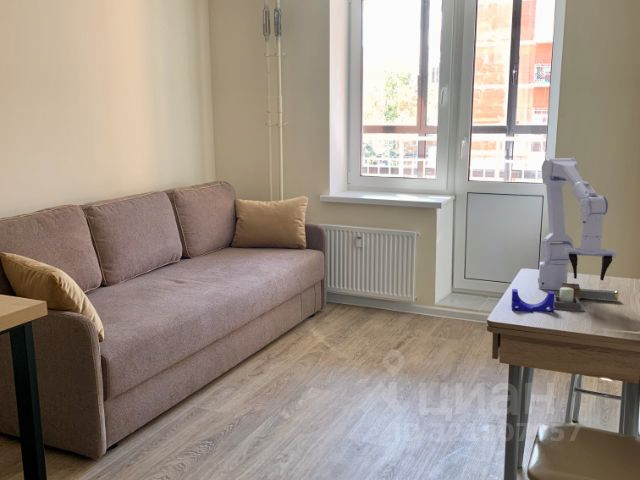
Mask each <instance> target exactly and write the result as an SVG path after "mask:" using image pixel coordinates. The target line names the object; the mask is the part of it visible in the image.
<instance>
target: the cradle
mask: <svg viewBox="0 0 640 480" xmlns="http://www.w3.org/2000/svg"><path fill="white" fill-rule="evenodd" d="M559 296H560V295H559ZM559 296H558V295H554V308H553V311H554V310H556V311H567V312H568V311H569V312H581V313H584V312H585V307H584V304H583V301H581V300H578V298H576V297H573V303H568V302H559ZM548 309H550V307H548Z"/></svg>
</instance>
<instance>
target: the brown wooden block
mask: <svg viewBox="0 0 640 480" xmlns="http://www.w3.org/2000/svg"><path fill="white" fill-rule="evenodd" d="M562 287H568V288H572V289H574V294H573V297H576V298H578V300H579V301H581V300H580V299H581V298H580V289H581V287H580V284H579V283H568V282H567V283H562Z"/></svg>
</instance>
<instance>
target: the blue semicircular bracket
mask: <svg viewBox="0 0 640 480" xmlns="http://www.w3.org/2000/svg"><path fill="white" fill-rule="evenodd" d="M554 296H555V292H554V290H548V291H547V295H546V297H545V298H544V299H543V300H542V301H541V302H538V303H535V304H534V303H533V304H532V303H527V302H525V301H524V300H522V299H521V298H520V295H519V291H518V288H512V289H511V304H510V305H511V311H512V312H515V311H516V307H517V311H518V312H524V313H533V312H542V313H554V310H553V308H554ZM549 307H550V309H549ZM547 308H548V309H547Z"/></svg>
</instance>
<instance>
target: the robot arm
mask: <svg viewBox="0 0 640 480" xmlns="http://www.w3.org/2000/svg"><path fill="white" fill-rule="evenodd" d="M541 178H542V183H543V185H545V186H546V187H545V188H546V189H545V190H546V202H547V217H548V230H549V233H548V234H547V235H546V236H545V237H544V238H543V239H542V240H541V247H540V257H541V258H542V260H543V261H539V268H538V277H537V283H538V284H537V285H538V289H539V290H548V291H560V288H562V283H568V276H569V273H568V272H569V264H571V266H572V271H573V272H572V273H573V279H577V277H578V256H585V257H586V256H588V257H600V258H601V257H602V258H601V270H600V276H599V278H600V281H604V279H605V275H606V273H607V270H608V268H609V266H610V265H611V264H612V262H613V259H616V258H617V250H613V249H605V248H604V249H603V248H602V236H603V225H604V215H606V214H607V213H608V210H609V202H608V199H607V196H604V195H601V194H598V193H597V192H596V190H595V189H594V188H593V186H592V185H591V184H590V182H589V181H586V180H585V181H584V179H583V178H582V177H581V174H580V173H579V171H578V162H577V160H576V159H575V157H567V158H566V157H565V158H564V157H561V158H559V157H557V158H554V157H552V158H550V157H545V159H544V161H543V163H542V165H541ZM566 184H569V185H570V186H571V187H572V191H571V192H572V194H573V196H574V198H575V199H576V200H577V202H578V203H579V211H580V220H581V221H582V224H581V225H582V226H581V238H580V239H581V241H580V247H575V246H574V242H573V241H574V240H573V238H572V237H571V236H569V235H568V234H567V233H566V227H565V226H566V225H565V223H566V222H565V212H564V198H563V197H564V195H563V187H564V186H565V185H566Z"/></svg>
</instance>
